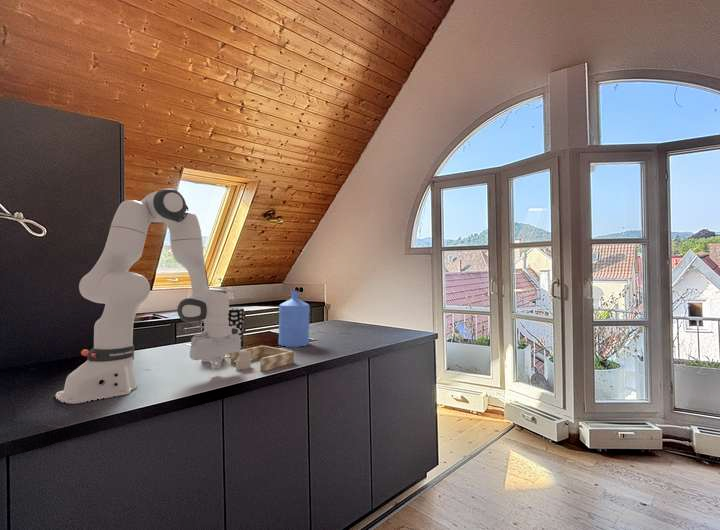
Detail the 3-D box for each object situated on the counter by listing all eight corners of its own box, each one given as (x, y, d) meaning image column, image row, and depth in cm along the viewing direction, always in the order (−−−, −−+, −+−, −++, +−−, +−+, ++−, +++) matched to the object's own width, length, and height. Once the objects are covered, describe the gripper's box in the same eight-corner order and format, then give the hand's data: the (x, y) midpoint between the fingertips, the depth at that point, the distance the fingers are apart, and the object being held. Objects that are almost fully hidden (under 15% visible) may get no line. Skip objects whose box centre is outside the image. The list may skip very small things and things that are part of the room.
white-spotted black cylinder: (247, 350, 202) (247, 309, 202) (233, 353, 195) (234, 310, 195) (235, 348, 207) (235, 307, 206) (221, 351, 200) (222, 309, 199)
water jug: (306, 348, 210) (307, 292, 210) (275, 347, 211) (276, 291, 210) (310, 342, 226) (311, 290, 226) (281, 341, 226) (282, 289, 226)
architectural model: (233, 369, 168) (233, 351, 168) (247, 366, 173) (248, 348, 173) (238, 371, 166) (239, 352, 166) (253, 368, 171) (253, 349, 171)
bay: (262, 371, 165) (262, 358, 165) (230, 363, 176) (230, 351, 176) (294, 363, 179) (294, 351, 179) (263, 356, 190) (263, 345, 190)
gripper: (196, 335, 148) (196, 375, 148) (243, 328, 165) (242, 364, 165) (186, 333, 152) (185, 372, 152) (233, 327, 169) (232, 361, 169)
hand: (215, 367), depth 159 cm, fingers closed
